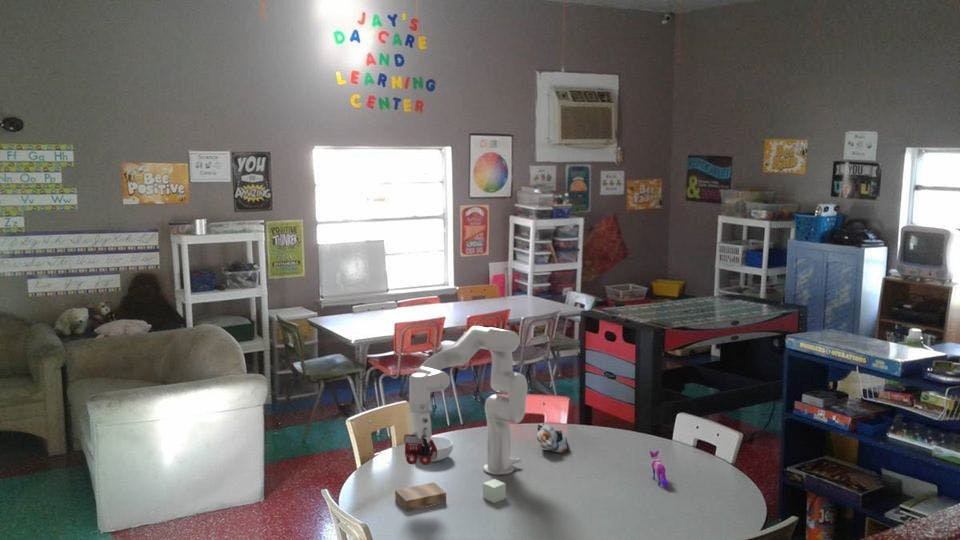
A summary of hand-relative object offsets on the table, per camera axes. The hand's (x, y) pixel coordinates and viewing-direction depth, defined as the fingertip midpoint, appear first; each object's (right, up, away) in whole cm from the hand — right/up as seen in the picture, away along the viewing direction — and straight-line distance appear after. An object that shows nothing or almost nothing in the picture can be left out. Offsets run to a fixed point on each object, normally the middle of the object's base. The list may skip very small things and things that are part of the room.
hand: (420, 451), depth 296 cm
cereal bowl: (+2, -14, +46) cm, 48 cm away
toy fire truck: (0, -4, +1) cm, 4 cm away
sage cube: (+28, -19, +6) cm, 34 cm away
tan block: (0, -19, +3) cm, 20 cm away
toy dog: (+94, -17, +21) cm, 98 cm away
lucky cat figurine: (+55, -12, +56) cm, 79 cm away
